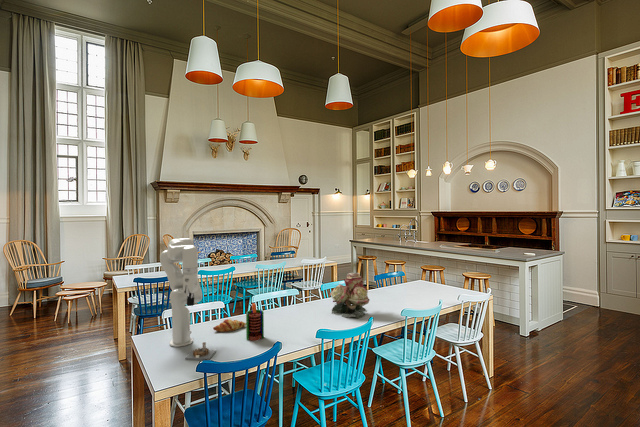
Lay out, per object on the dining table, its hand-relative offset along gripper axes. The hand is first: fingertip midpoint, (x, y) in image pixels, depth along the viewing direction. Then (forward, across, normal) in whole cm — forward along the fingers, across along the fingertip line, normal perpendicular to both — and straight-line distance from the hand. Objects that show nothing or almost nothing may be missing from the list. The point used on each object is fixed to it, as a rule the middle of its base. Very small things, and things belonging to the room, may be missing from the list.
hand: (190, 305), depth 184 cm
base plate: (+27, -1, -5) cm, 27 cm away
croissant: (+28, +39, -11) cm, 49 cm away
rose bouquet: (+27, +69, -93) cm, 119 cm away
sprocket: (+26, -1, -5) cm, 26 cm away
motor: (+27, +23, -30) cm, 46 cm away
